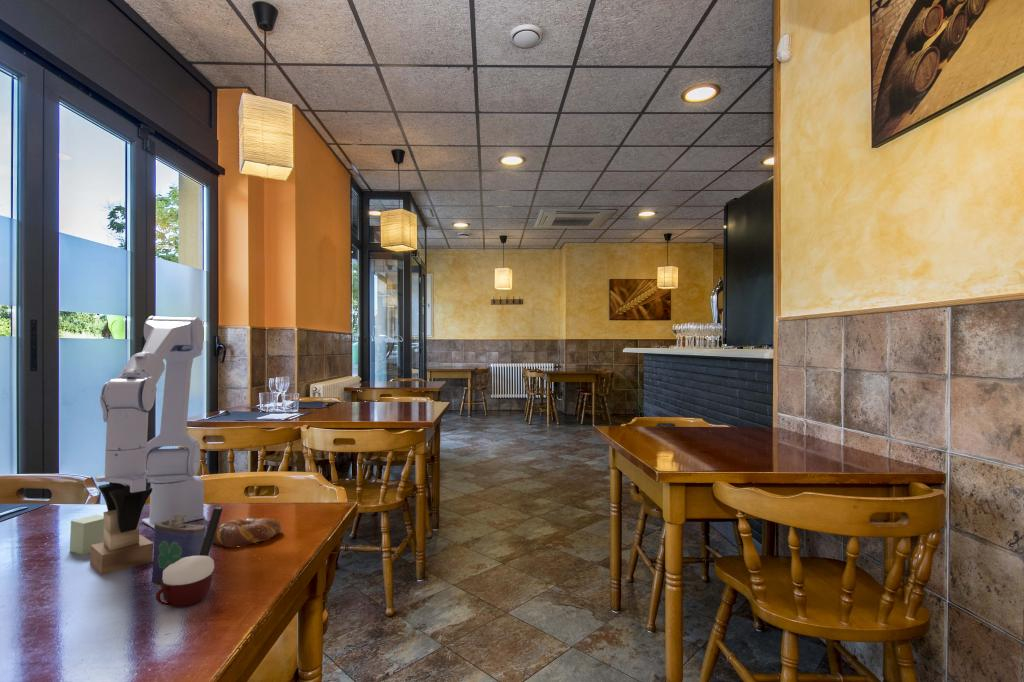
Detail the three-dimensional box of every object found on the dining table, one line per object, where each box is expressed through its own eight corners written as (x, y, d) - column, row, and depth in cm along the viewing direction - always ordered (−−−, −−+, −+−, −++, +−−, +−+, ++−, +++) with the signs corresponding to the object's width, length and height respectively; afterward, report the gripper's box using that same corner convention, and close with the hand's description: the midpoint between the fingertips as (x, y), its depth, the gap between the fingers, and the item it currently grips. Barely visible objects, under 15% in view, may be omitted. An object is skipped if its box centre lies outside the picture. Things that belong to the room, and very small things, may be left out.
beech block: (132, 536, 89) (131, 506, 89) (139, 542, 87) (139, 510, 87) (103, 544, 86) (103, 512, 86) (110, 550, 84) (110, 517, 84)
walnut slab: (139, 553, 91) (139, 534, 91) (152, 563, 87) (153, 543, 87) (89, 565, 86) (90, 545, 86) (101, 577, 81) (102, 555, 82)
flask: (207, 582, 79) (209, 513, 79) (191, 591, 76) (193, 519, 77) (162, 575, 82) (164, 508, 82) (144, 583, 79) (146, 513, 79)
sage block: (95, 544, 95) (96, 514, 95) (107, 547, 93) (109, 517, 94) (69, 551, 91) (71, 520, 92) (82, 554, 90) (83, 523, 90)
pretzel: (280, 526, 106) (281, 509, 107) (280, 543, 97) (281, 524, 97) (215, 534, 101) (215, 515, 102) (208, 553, 92) (208, 532, 92)
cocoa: (159, 622, 68) (158, 533, 68) (145, 605, 72) (145, 521, 72) (234, 594, 75) (234, 514, 75) (218, 580, 79) (218, 505, 79)
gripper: (86, 446, 89) (82, 524, 88) (109, 456, 80) (106, 543, 79) (134, 441, 94) (131, 514, 94) (161, 450, 85) (158, 531, 85)
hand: (123, 527), depth 87 cm, fingers open, 5 cm apart
